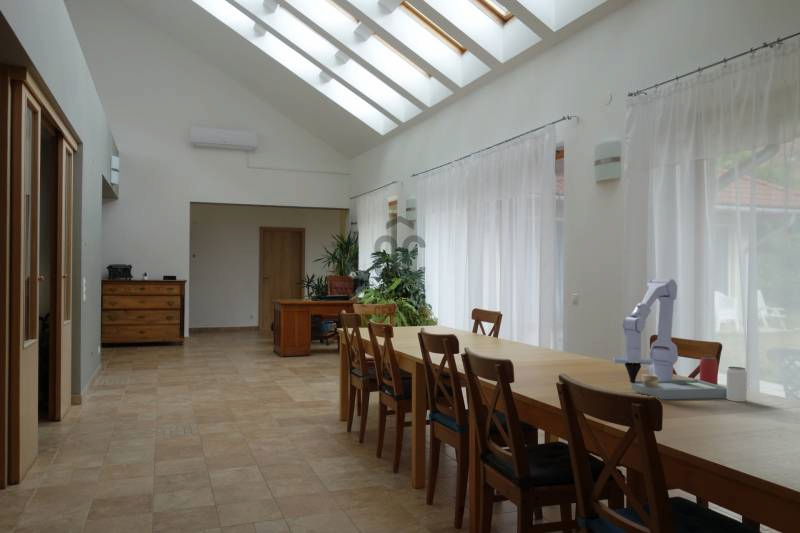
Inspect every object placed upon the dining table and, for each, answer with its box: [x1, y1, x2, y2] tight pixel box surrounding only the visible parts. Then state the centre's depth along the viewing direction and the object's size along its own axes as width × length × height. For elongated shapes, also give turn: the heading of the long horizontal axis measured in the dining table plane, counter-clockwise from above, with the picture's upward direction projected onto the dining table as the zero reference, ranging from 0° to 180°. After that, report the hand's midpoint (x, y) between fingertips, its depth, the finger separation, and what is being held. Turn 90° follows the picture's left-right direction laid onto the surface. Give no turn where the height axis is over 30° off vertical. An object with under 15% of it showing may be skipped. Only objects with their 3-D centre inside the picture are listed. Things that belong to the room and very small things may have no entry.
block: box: [641, 373, 658, 387], centre depth 241 cm, size 5×5×4 cm
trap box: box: [631, 379, 727, 400], centre depth 240 cm, size 19×29×4 cm, turn 100°
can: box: [725, 366, 748, 403], centre depth 228 cm, size 6×6×12 cm
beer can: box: [699, 356, 719, 385], centre depth 255 cm, size 7×7×12 cm
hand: (632, 382), depth 242 cm, fingers closed
